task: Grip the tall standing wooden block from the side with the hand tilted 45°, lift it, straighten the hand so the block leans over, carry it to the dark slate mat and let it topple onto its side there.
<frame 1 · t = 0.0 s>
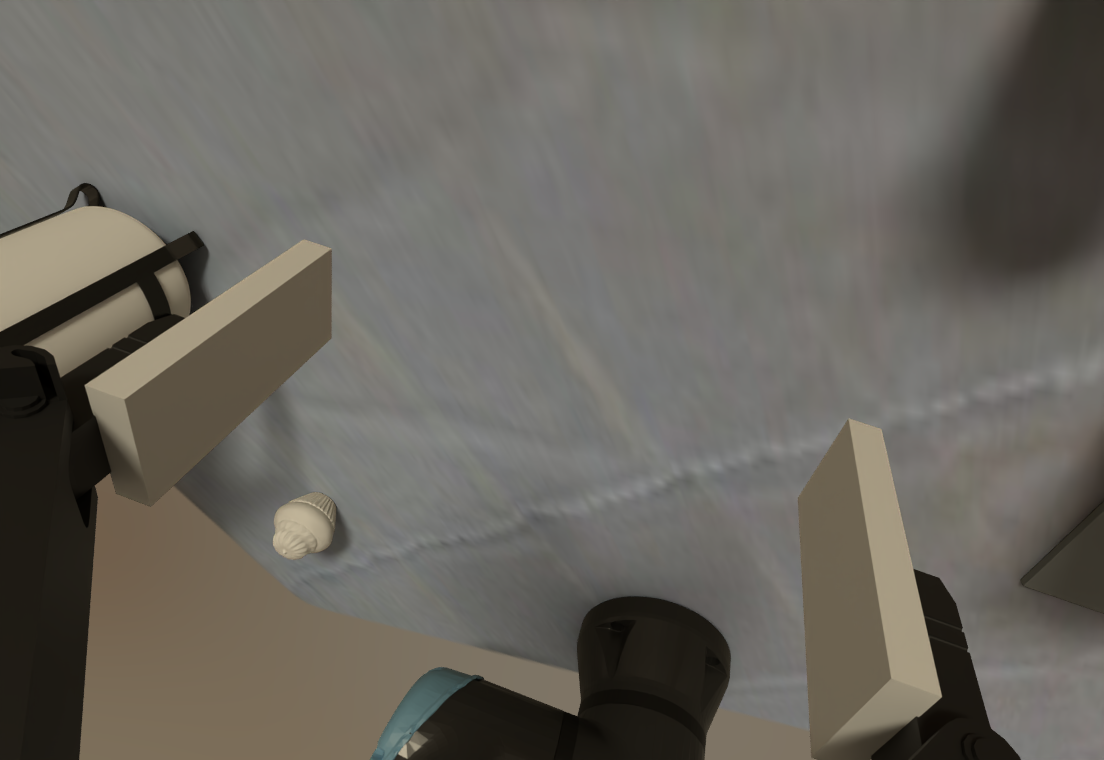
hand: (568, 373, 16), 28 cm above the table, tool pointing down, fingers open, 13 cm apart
beige rounded lump: (323, 502, 69), on the table
coffee press: (162, 265, 56), on the table
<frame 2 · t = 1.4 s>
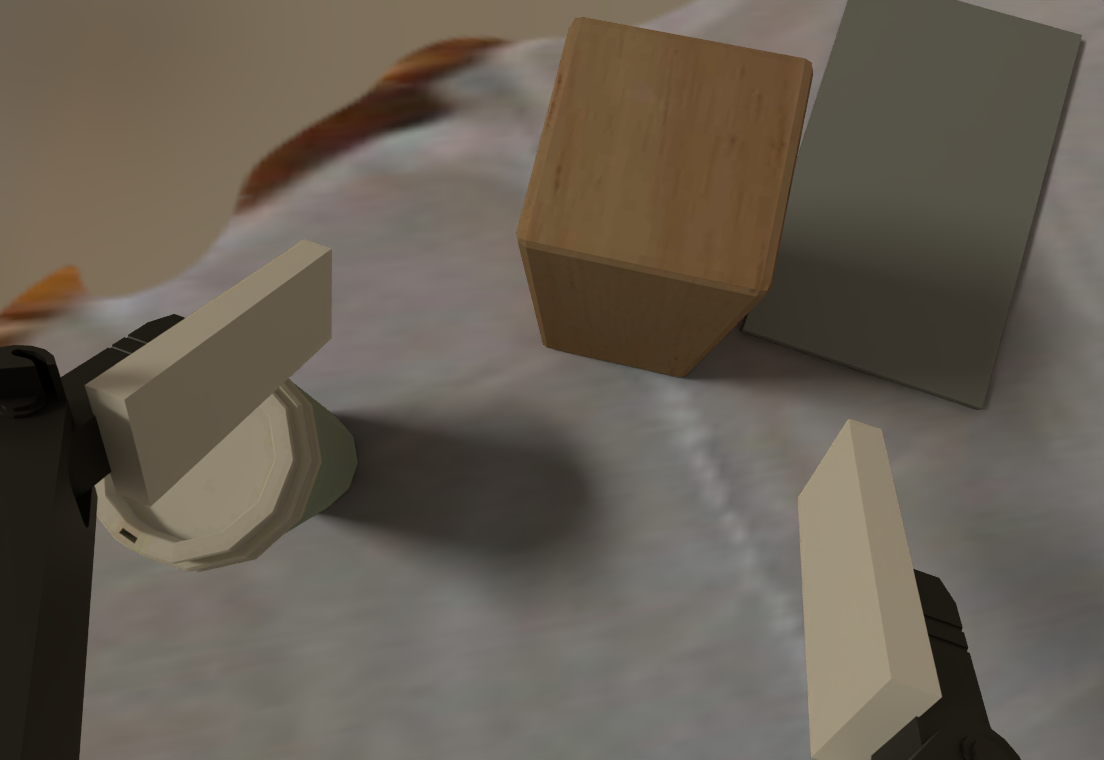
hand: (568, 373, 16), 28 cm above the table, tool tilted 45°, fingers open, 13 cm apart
mat: (912, 182, 46), on the table
disposable coffee cup: (317, 463, 44), on the table
wooden block: (628, 294, 45), on the table
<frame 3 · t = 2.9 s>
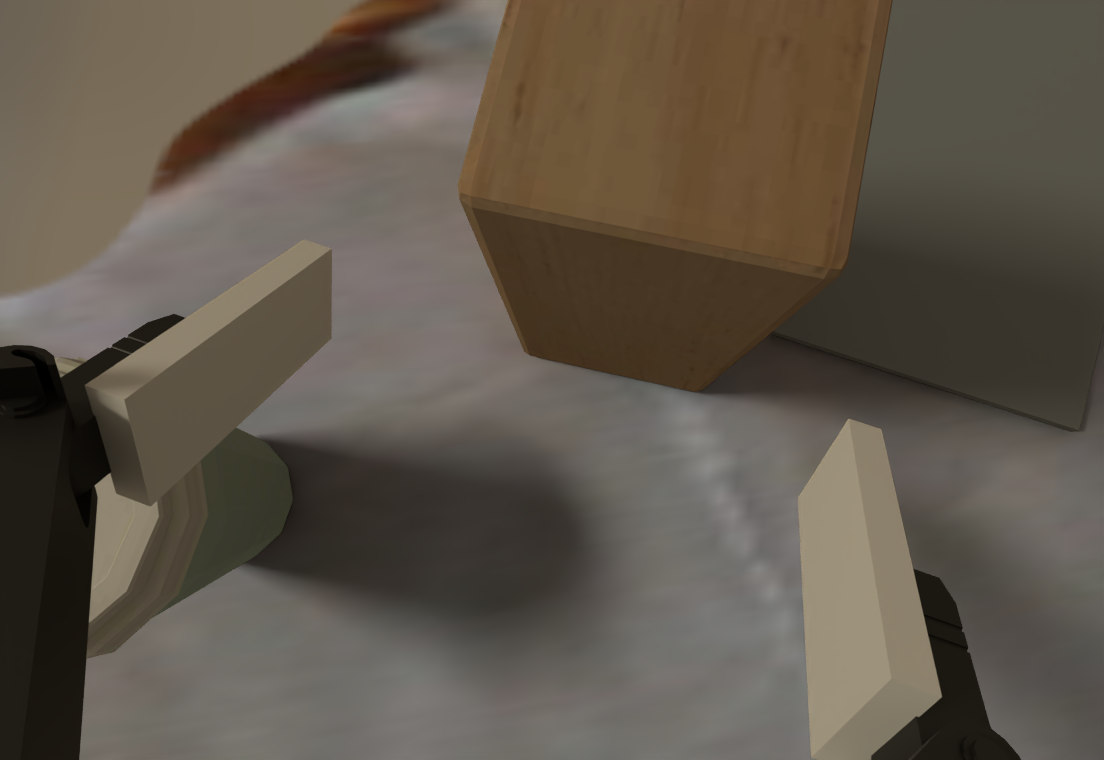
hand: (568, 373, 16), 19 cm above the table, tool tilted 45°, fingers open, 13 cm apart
mat: (981, 149, 37), on the table
disposable coffee cup: (244, 500, 36), on the table
wooden block: (630, 289, 37), on the table
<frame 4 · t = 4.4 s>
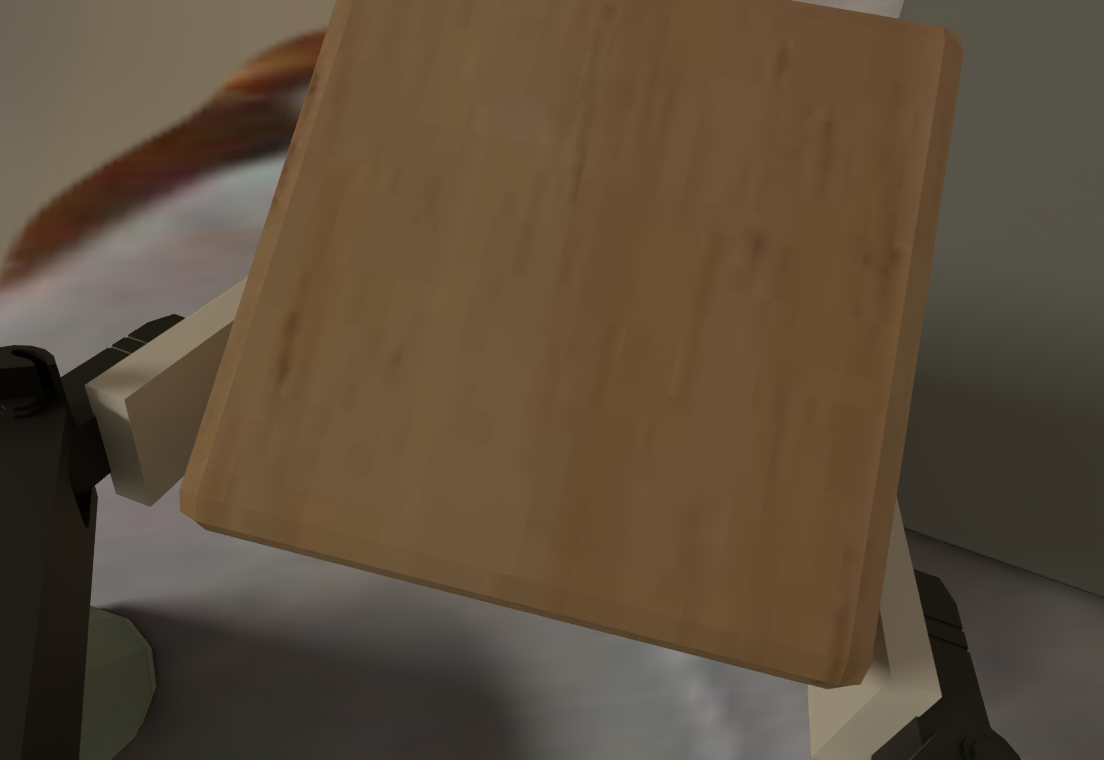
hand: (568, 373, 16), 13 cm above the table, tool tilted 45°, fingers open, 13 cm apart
mat: (1022, 241, 29), on the table
disposable coffee cup: (97, 685, 28), on the table
wooden block: (583, 417, 29), on the table
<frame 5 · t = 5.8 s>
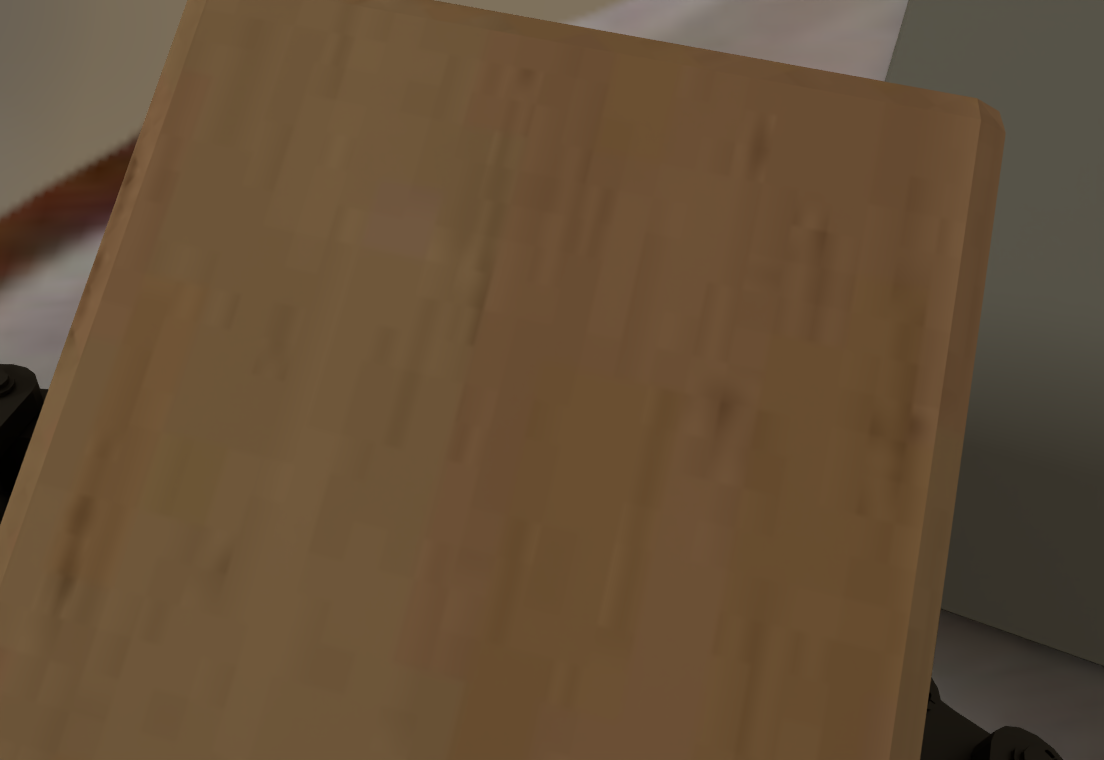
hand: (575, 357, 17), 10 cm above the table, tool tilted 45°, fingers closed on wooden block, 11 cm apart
mat: (1035, 277, 27), on the table
wooden block: (555, 473, 27), on the table, touching gripper
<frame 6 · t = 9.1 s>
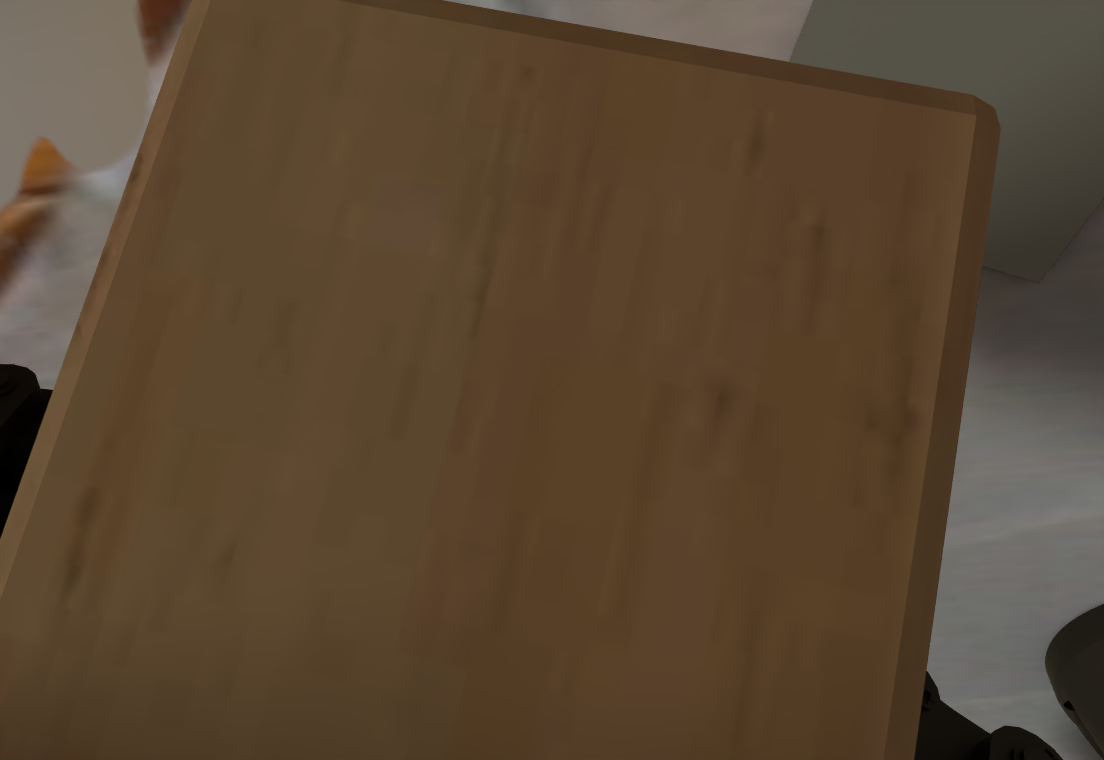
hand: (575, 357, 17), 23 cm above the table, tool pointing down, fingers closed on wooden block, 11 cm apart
wooden block: (557, 472, 27), point 17 cm above the table, touching gripper
when the fingers open (11 cm above the table, at t = 14.0 s): wooden block moves 4 cm, resting on mat.
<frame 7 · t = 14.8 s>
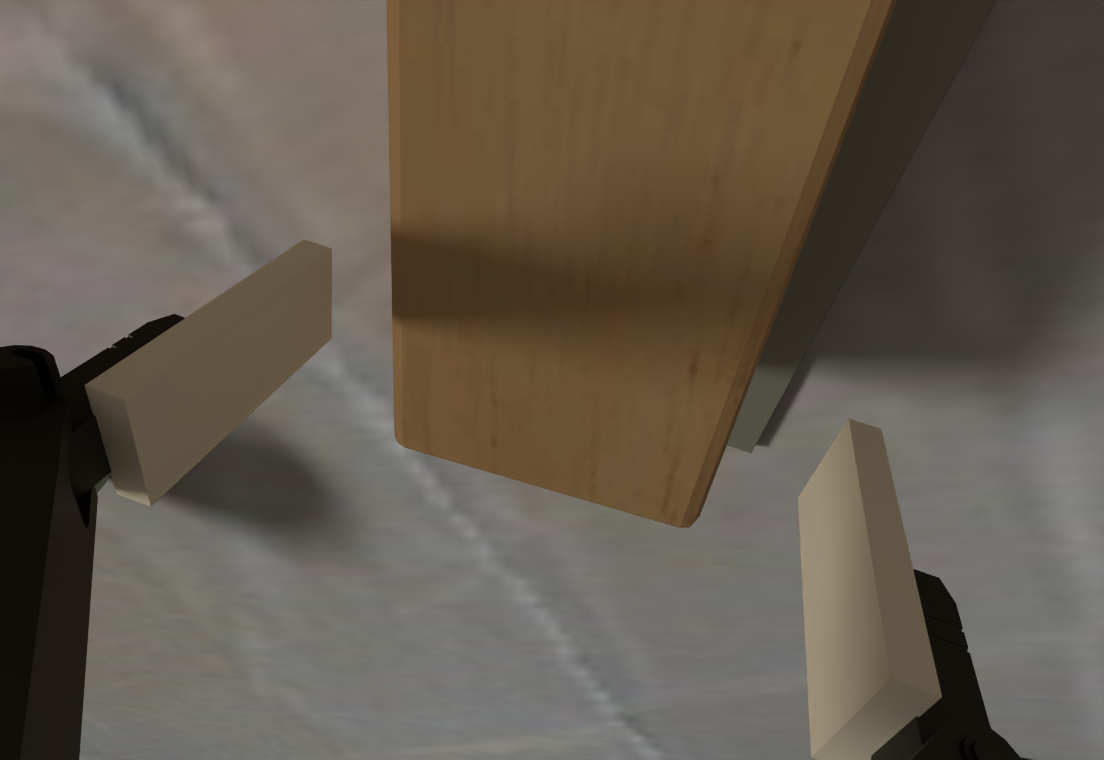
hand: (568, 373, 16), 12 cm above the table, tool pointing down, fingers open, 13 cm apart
mat: (682, 78, 23), on the table
wooden block: (572, 405, 25), point 6 cm above the table, touching mat
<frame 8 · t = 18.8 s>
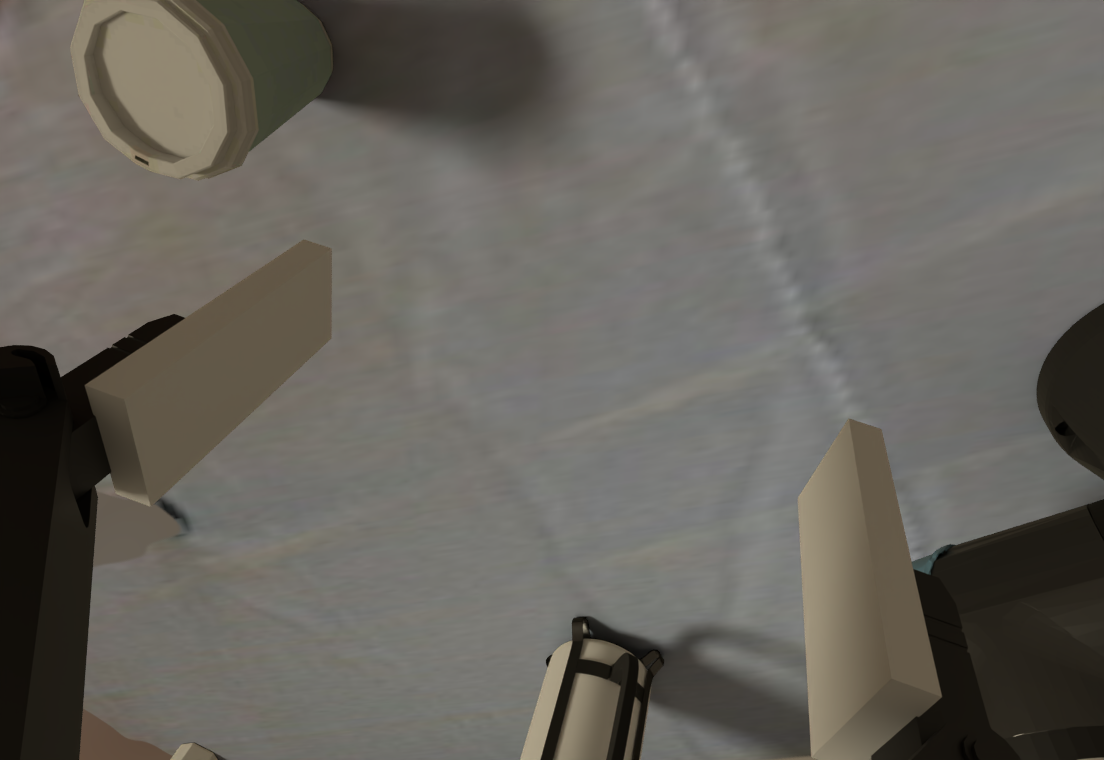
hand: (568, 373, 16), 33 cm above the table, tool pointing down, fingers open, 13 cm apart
disposable coffee cup: (301, 49, 48), on the table
coffee press: (605, 647, 77), on the table
jar: (202, 752, 133), on the table
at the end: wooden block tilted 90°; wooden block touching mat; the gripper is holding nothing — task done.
